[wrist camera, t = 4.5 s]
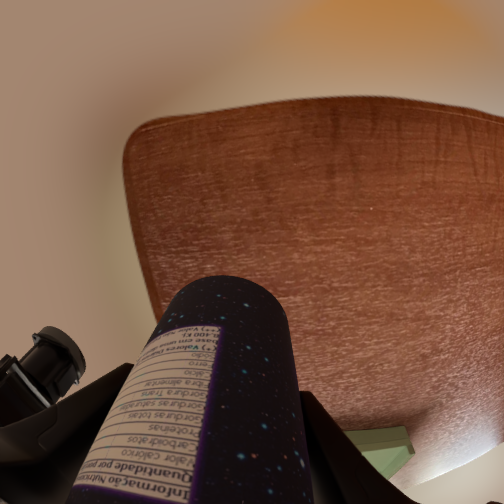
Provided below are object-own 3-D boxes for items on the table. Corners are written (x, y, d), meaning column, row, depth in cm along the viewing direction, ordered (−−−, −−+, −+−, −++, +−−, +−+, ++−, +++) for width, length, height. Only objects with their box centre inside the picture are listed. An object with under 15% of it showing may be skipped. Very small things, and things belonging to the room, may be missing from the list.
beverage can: (180, 363, 14) (114, 569, 3) (163, 267, 12) (-7, 508, 1) (284, 365, 14) (303, 593, 3) (288, 266, 12) (360, 593, 1)
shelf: (269, 472, 31) (268, 500, 26) (288, 430, 27) (291, 466, 22) (368, 468, 31) (374, 492, 26) (404, 425, 27) (415, 453, 22)
